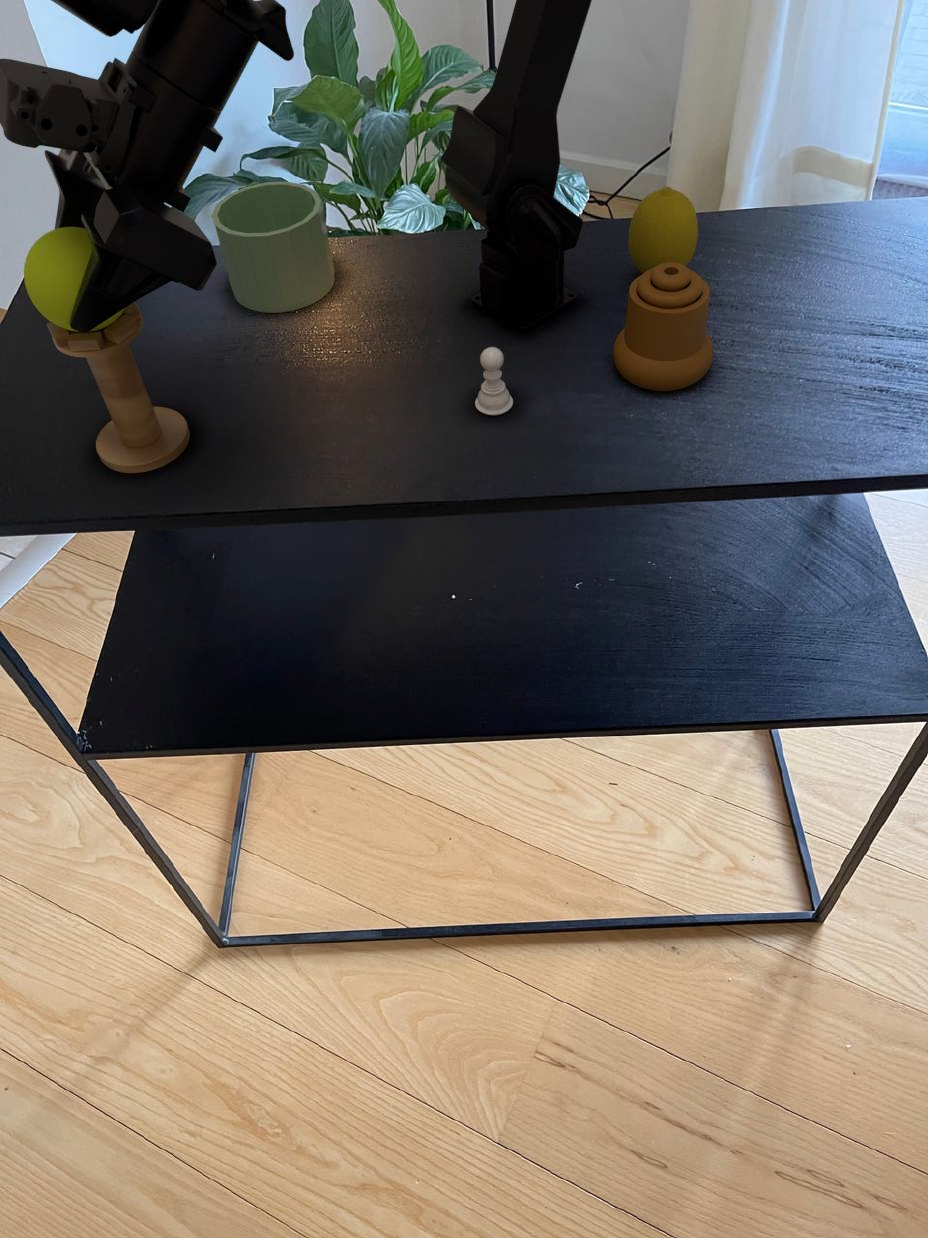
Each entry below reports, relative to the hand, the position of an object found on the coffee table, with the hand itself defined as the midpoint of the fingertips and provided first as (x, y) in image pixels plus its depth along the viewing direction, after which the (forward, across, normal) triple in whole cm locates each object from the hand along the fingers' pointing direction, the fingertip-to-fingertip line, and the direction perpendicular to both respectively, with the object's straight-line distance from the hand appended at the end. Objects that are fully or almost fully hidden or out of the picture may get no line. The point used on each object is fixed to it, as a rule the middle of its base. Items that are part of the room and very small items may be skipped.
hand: (65, 305), depth 64 cm
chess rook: (+8, 0, +10) cm, 12 cm away
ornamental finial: (-19, +13, +36) cm, 43 cm away
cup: (-4, -15, +22) cm, 26 cm away
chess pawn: (-9, +10, +27) cm, 30 cm away
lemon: (-24, +3, +41) cm, 47 cm away
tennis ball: (-2, 0, 0) cm, 2 cm away
